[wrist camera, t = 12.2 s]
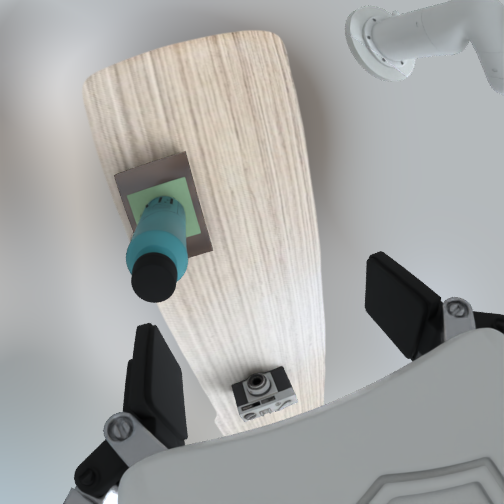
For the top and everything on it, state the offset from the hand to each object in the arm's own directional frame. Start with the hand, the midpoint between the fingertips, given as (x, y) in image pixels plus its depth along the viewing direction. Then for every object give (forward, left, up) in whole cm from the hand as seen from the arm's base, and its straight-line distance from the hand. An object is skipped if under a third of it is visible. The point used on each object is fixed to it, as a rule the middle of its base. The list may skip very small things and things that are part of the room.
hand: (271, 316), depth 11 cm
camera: (+42, +25, -35) cm, 60 cm away
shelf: (+6, -5, -35) cm, 36 cm away
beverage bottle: (+6, -5, -31) cm, 32 cm away
